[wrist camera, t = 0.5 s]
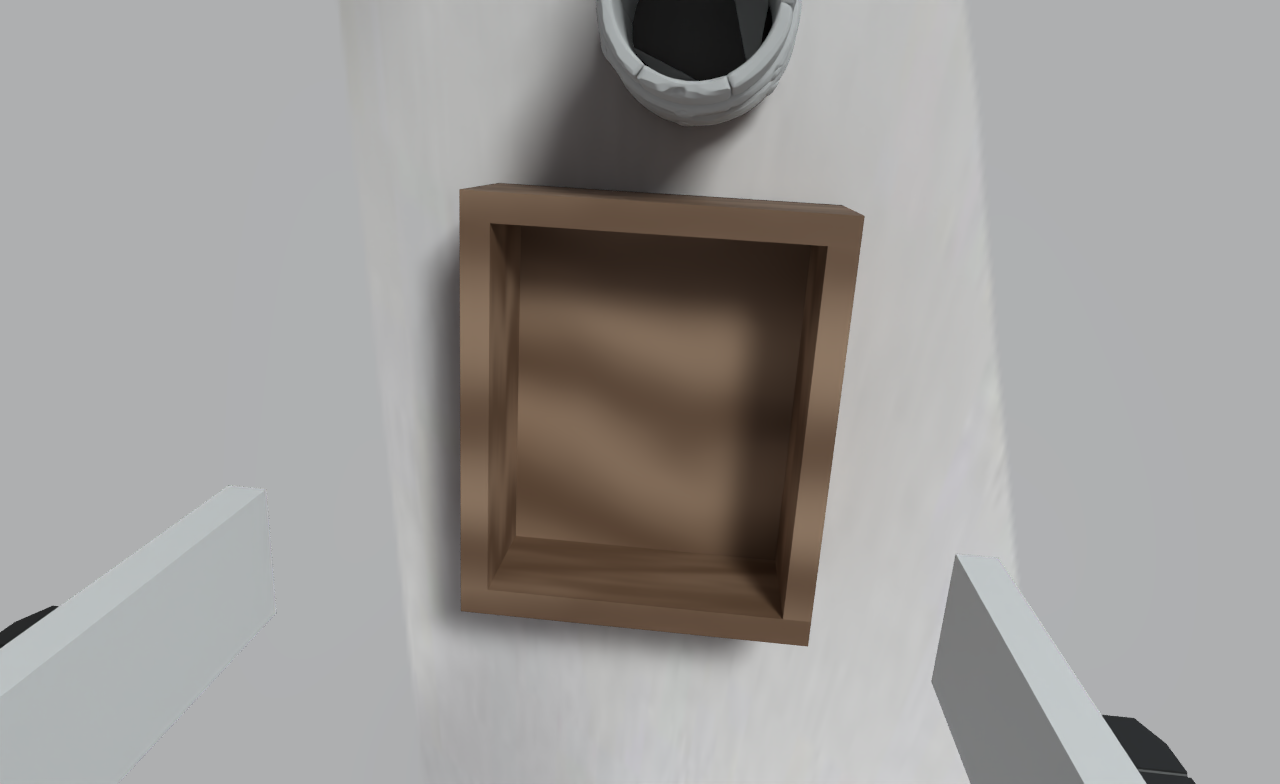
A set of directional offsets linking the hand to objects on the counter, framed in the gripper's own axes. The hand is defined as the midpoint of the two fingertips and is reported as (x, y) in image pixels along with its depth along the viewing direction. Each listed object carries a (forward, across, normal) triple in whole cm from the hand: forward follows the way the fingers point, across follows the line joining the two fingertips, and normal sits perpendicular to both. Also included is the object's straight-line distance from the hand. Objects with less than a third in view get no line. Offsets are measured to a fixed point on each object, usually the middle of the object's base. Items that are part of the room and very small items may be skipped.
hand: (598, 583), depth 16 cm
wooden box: (+24, 0, -4) cm, 24 cm away
